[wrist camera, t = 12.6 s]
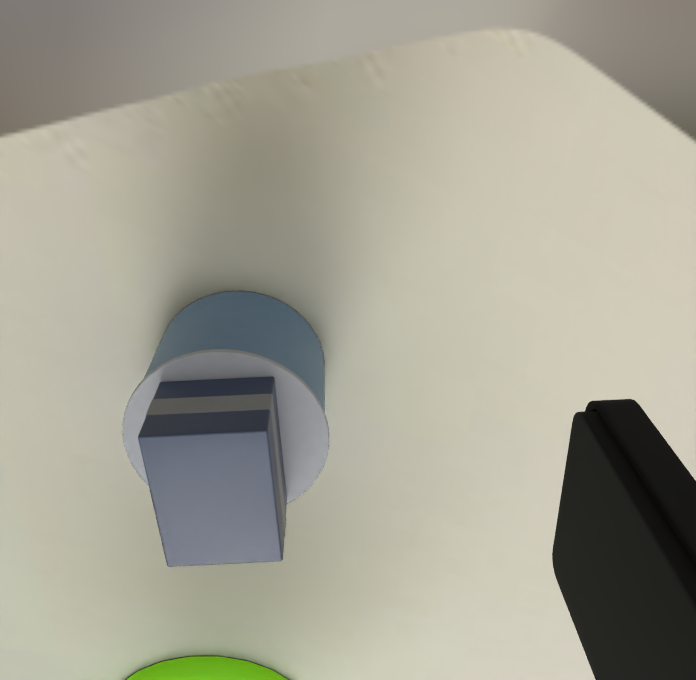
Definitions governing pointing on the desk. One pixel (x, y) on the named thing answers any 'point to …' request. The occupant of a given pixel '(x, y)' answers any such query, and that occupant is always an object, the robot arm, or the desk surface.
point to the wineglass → (206, 670)
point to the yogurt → (245, 372)
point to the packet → (216, 470)
